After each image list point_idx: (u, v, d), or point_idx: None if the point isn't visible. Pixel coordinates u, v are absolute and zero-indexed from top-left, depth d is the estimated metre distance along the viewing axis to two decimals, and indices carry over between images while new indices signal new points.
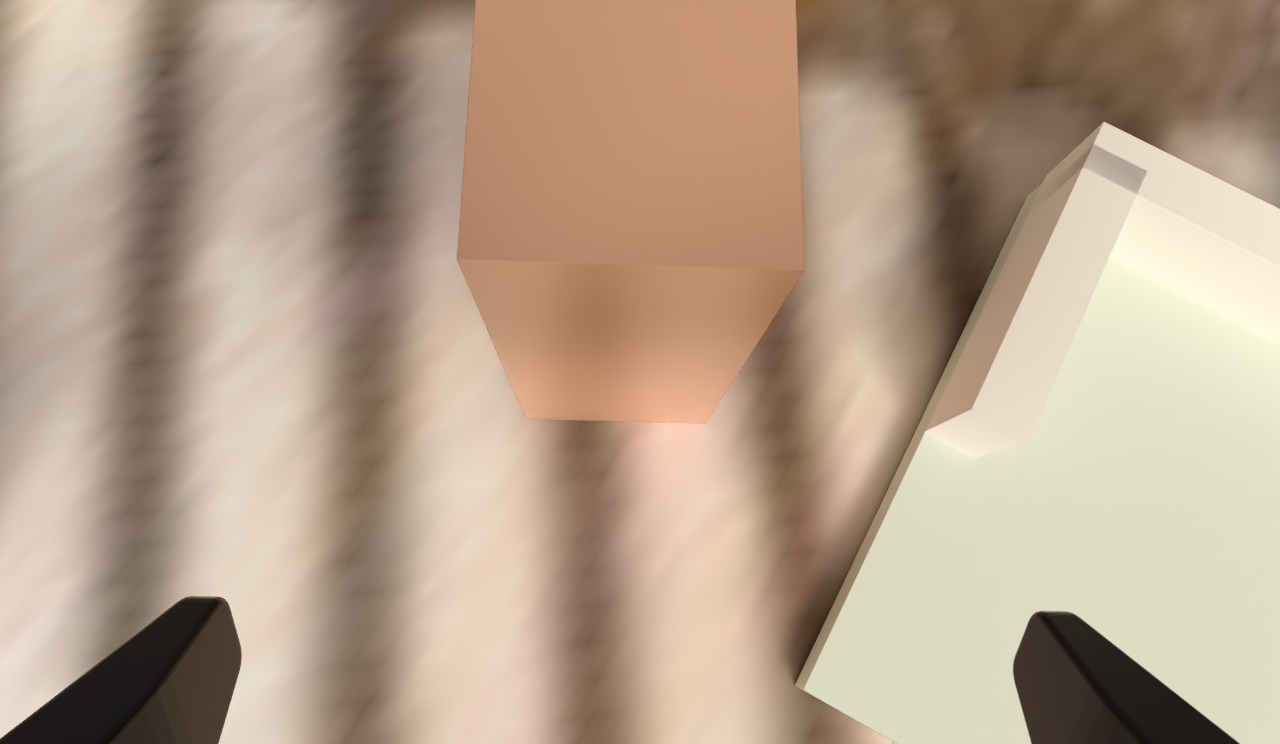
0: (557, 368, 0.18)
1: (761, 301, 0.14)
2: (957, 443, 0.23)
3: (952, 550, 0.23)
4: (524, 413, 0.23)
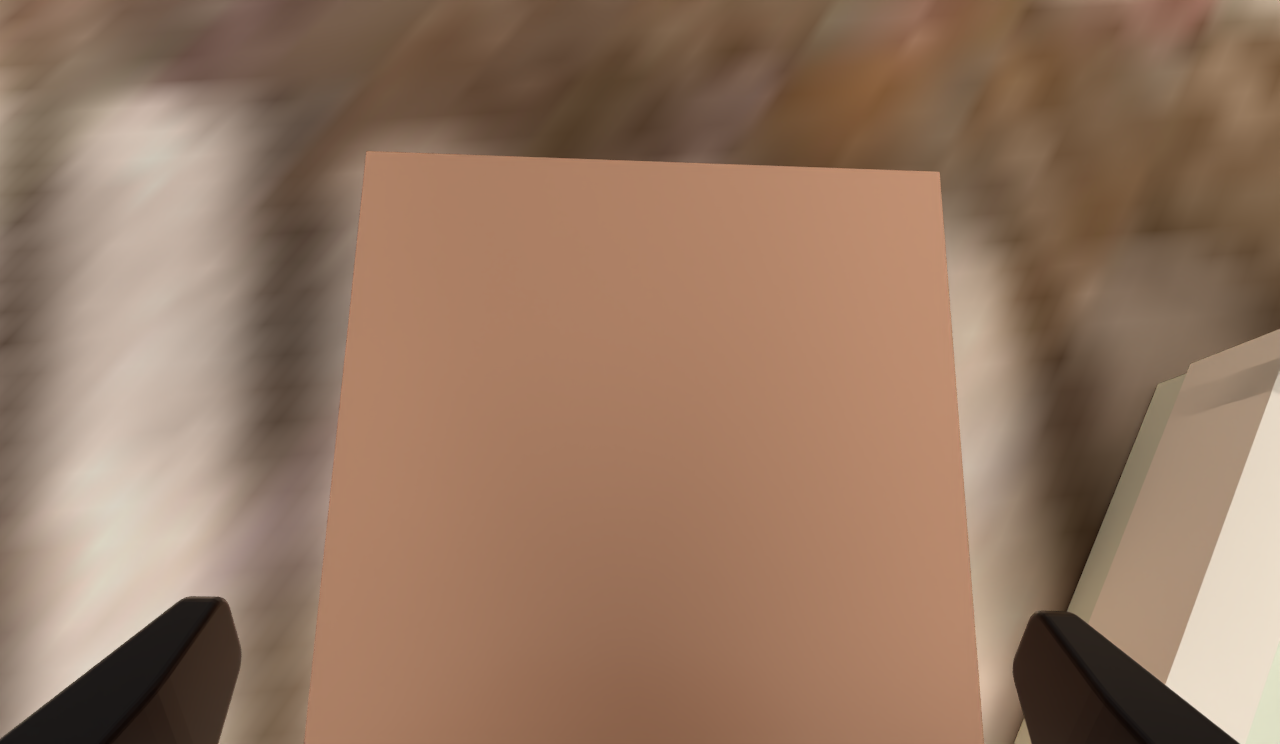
0: None
1: None
2: None
3: None
4: None
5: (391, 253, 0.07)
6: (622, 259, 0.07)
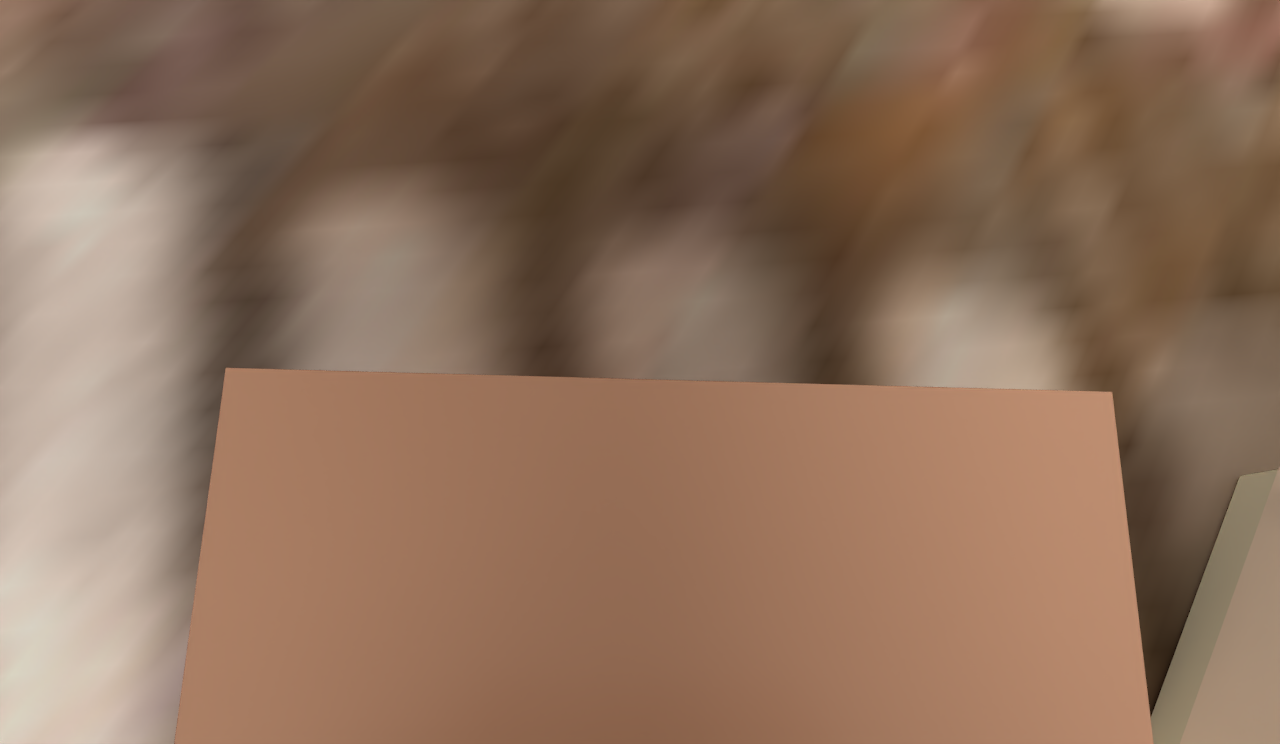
0: None
1: None
2: None
3: None
4: None
5: (260, 540, 0.05)
6: (625, 543, 0.05)
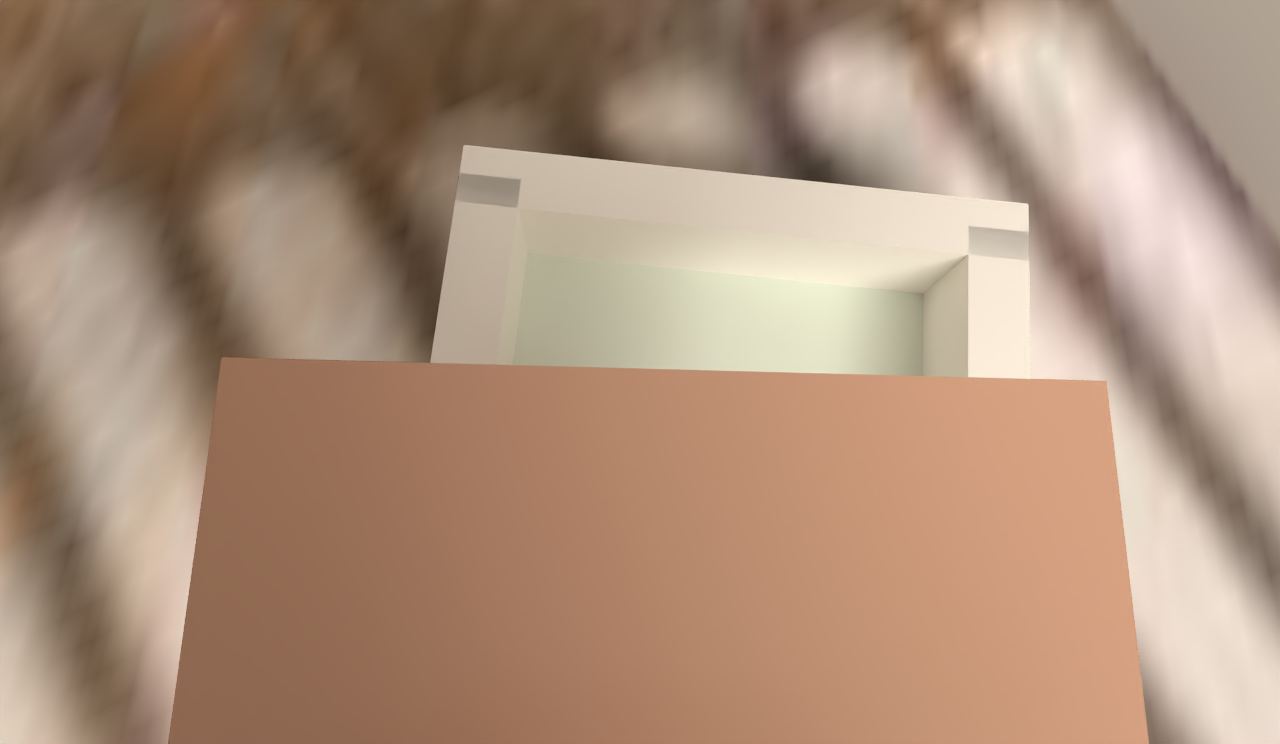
0: None
1: None
2: None
3: None
4: None
5: (255, 528, 0.05)
6: (619, 531, 0.05)
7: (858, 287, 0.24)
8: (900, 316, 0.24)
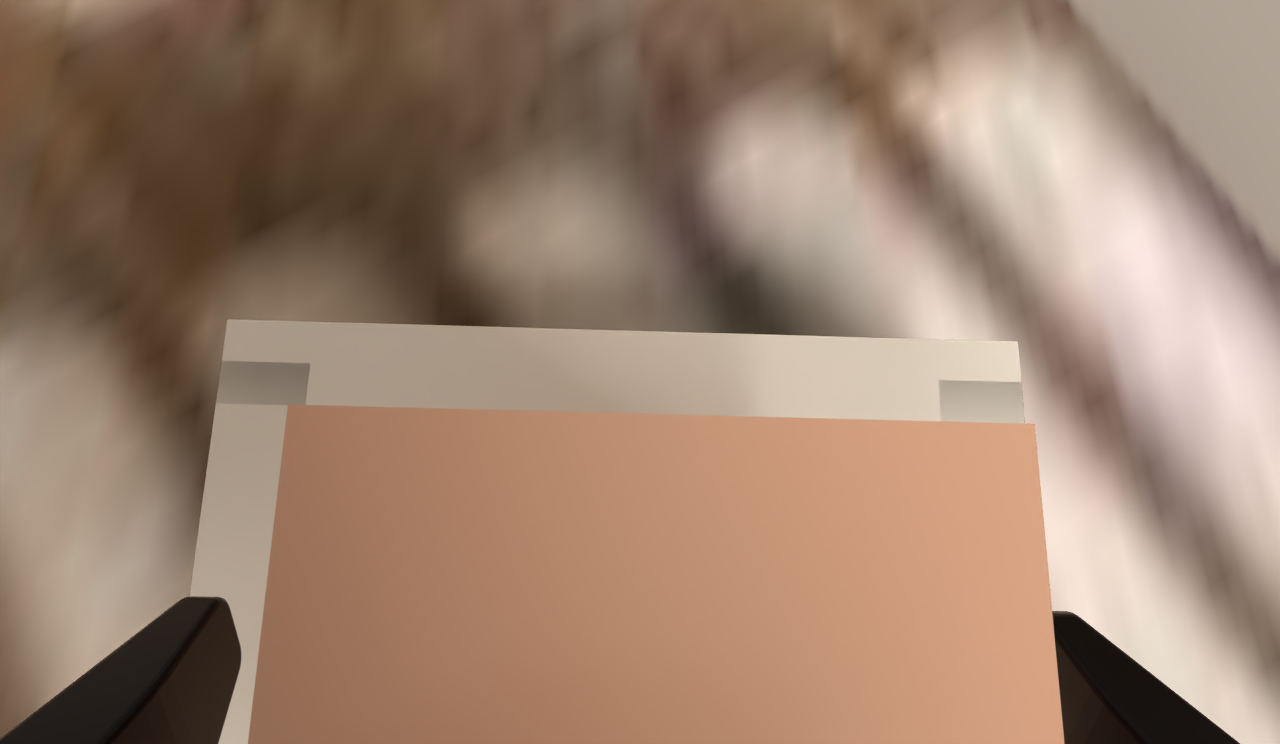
0: None
1: None
2: None
3: None
4: None
5: (318, 549, 0.05)
6: (622, 552, 0.06)
7: None
8: None
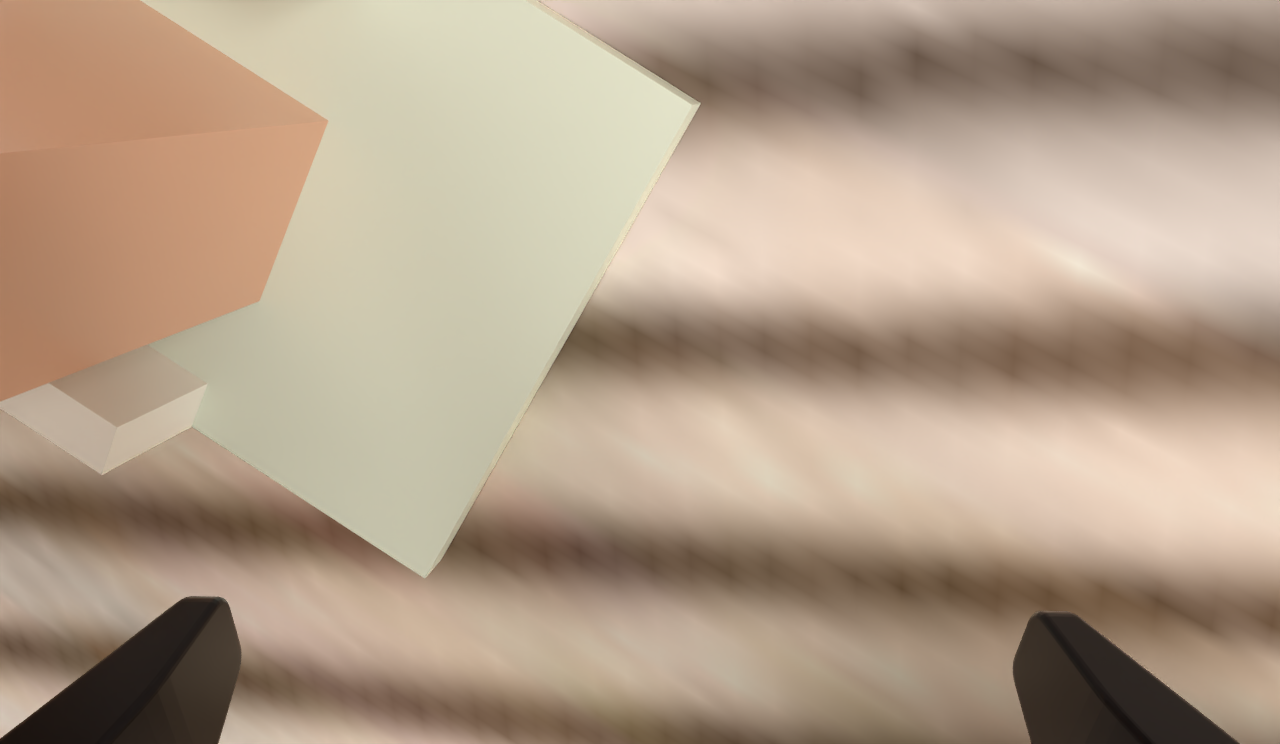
0: (73, 329, 0.16)
1: None
2: (190, 409, 0.23)
3: (293, 423, 0.22)
4: (239, 308, 0.21)
5: None
6: None
7: None
8: None
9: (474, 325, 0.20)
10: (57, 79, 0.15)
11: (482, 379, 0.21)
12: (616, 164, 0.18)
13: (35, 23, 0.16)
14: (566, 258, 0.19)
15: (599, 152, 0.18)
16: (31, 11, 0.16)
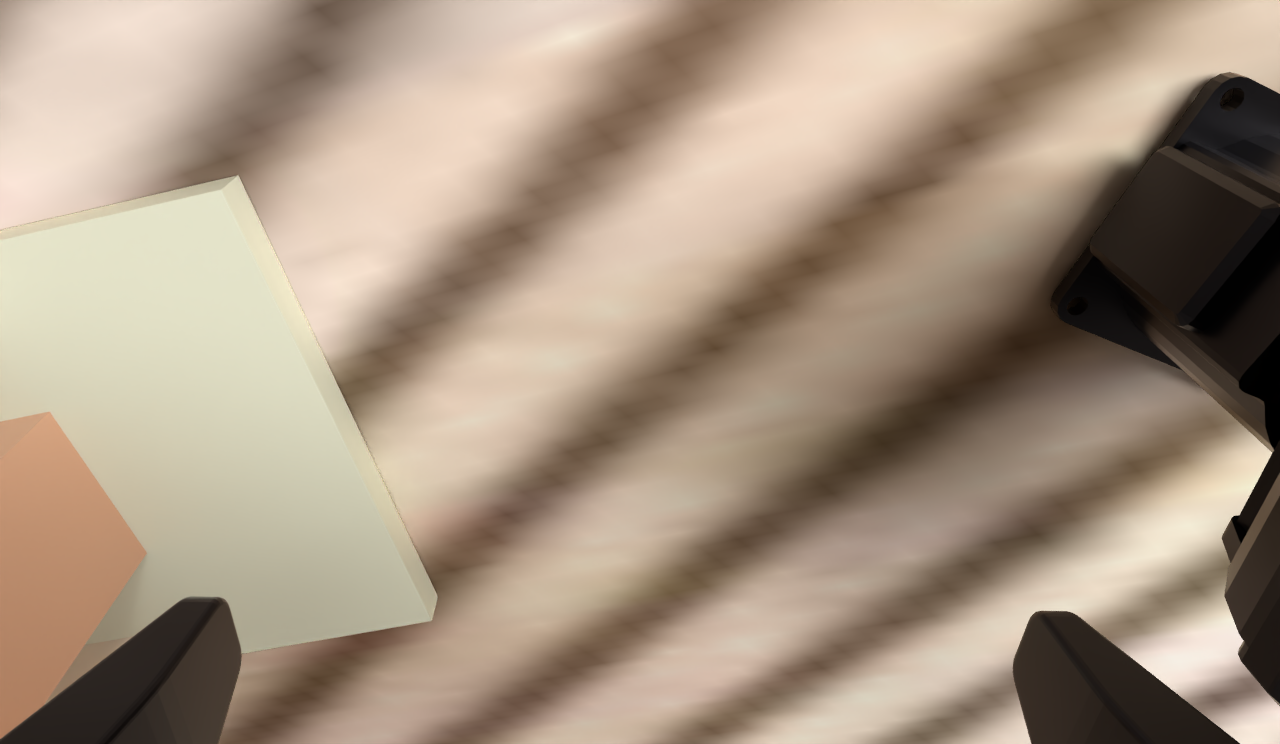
0: None
1: None
2: None
3: (252, 603, 0.26)
4: (133, 571, 0.24)
5: None
6: None
7: None
8: None
9: (272, 447, 0.23)
10: None
11: (316, 474, 0.23)
12: (226, 270, 0.20)
13: None
14: (270, 355, 0.21)
15: (208, 273, 0.20)
16: None
